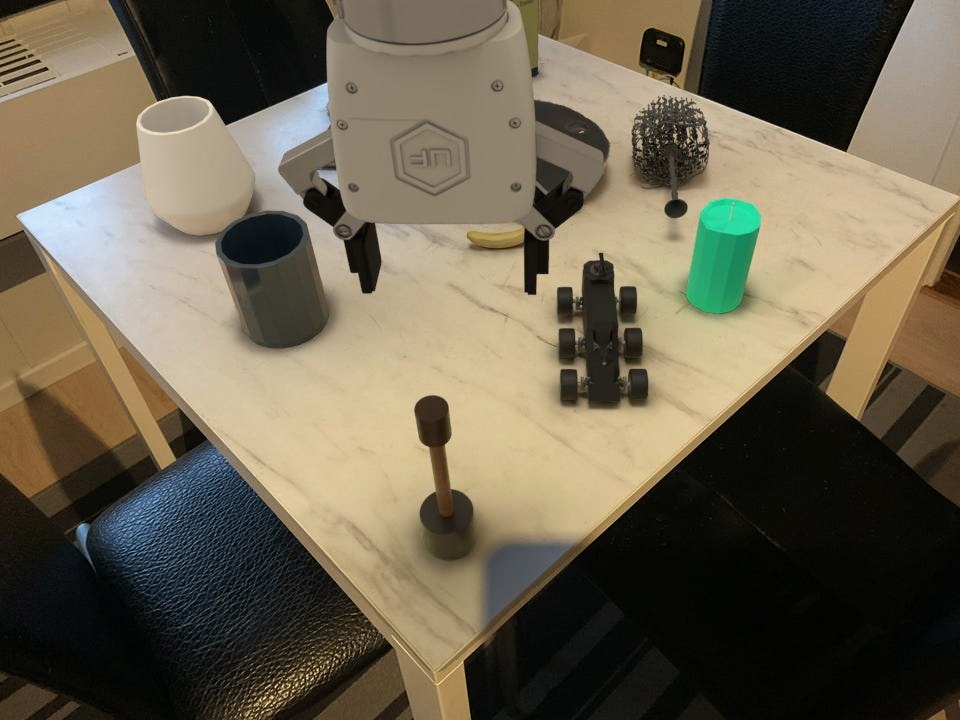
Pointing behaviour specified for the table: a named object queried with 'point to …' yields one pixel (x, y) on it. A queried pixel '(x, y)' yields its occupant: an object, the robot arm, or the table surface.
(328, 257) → the table surface
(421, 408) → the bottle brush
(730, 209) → the candle
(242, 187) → the cup
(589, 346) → the toy vehicle
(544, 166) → the board
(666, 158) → the massage brush
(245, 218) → the container
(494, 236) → the banana
